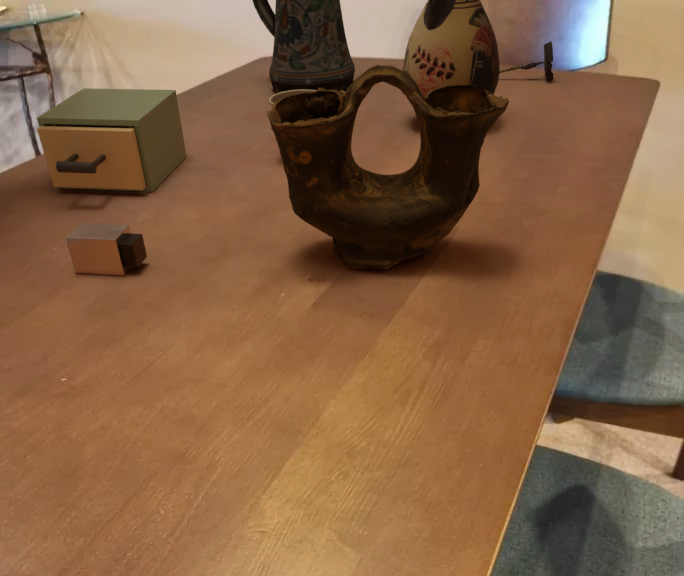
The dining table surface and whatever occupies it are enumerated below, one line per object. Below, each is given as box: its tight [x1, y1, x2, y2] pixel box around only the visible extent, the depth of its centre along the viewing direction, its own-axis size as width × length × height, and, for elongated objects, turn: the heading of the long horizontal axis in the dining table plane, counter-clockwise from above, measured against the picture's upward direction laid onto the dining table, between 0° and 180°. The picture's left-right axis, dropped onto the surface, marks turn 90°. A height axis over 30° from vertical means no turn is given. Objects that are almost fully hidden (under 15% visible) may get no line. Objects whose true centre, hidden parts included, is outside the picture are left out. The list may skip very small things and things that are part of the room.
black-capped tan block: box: [65, 222, 148, 277], centre depth 83 cm, size 8×4×4 cm, turn 80°
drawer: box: [36, 124, 146, 190], centre depth 102 cm, size 18×13×8 cm
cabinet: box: [36, 87, 187, 193], centre depth 105 cm, size 15×15×10 cm
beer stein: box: [252, 0, 356, 94], centre depth 132 cm, size 16×19×25 cm
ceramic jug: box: [402, 0, 501, 103], centre depth 111 cm, size 17×15×30 cm
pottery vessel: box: [266, 64, 510, 270], centre depth 79 cm, size 25×11×20 cm, turn 89°
